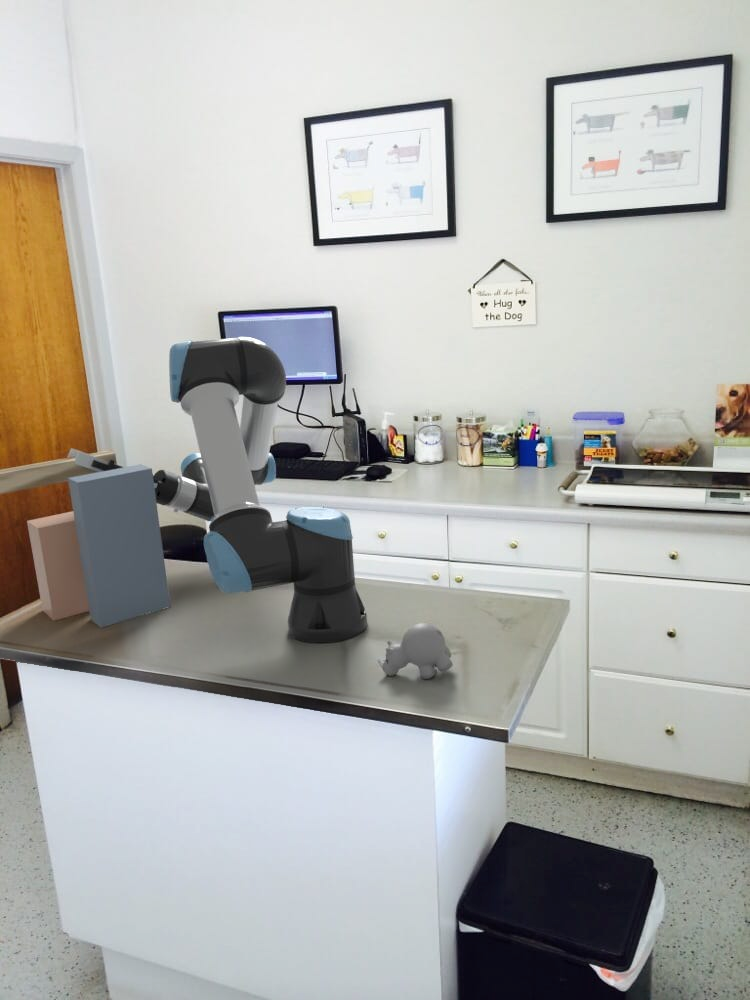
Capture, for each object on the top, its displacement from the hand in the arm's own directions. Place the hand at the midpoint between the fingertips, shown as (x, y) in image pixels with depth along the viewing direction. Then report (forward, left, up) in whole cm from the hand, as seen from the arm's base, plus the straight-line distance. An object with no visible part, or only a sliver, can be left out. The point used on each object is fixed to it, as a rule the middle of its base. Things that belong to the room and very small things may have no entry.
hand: (73, 455), depth 179 cm
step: (0, +5, -33) cm, 33 cm away
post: (-12, -3, -33) cm, 35 cm away
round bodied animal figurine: (-75, -28, -33) cm, 87 cm away
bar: (0, +5, -5) cm, 7 cm away
